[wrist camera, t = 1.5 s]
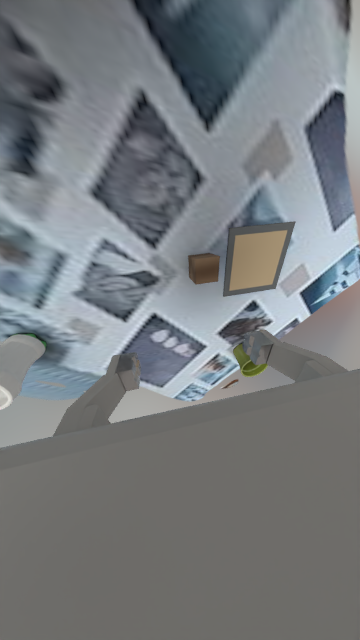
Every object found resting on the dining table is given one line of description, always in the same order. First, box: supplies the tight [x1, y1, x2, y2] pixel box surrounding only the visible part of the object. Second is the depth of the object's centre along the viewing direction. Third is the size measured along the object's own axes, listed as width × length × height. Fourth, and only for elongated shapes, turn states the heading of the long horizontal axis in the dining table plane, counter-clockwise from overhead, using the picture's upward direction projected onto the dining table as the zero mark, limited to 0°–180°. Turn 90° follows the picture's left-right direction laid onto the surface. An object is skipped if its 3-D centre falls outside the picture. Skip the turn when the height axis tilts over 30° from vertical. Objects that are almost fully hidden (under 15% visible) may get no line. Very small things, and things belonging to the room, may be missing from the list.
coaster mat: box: [223, 222, 295, 296], centre depth 35 cm, size 16×16×1 cm
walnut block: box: [188, 253, 220, 284], centre depth 31 cm, size 5×5×6 cm
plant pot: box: [233, 344, 268, 377], centre depth 48 cm, size 9×9×9 cm
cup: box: [0, 334, 46, 409], centre depth 30 cm, size 11×11×14 cm
